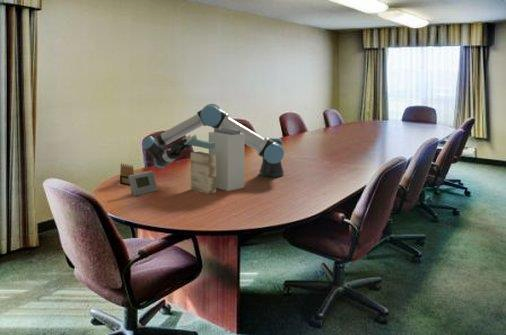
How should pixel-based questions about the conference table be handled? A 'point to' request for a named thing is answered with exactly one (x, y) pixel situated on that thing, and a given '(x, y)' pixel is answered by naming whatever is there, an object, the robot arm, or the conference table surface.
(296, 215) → the conference table surface
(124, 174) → the ammunition clip
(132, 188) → the digital clock
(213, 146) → the rail
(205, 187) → the beige stone block
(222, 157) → the grey stand
